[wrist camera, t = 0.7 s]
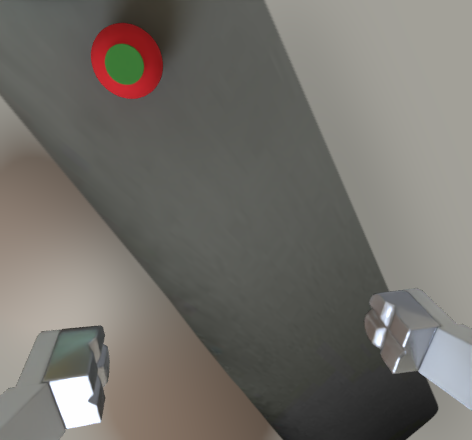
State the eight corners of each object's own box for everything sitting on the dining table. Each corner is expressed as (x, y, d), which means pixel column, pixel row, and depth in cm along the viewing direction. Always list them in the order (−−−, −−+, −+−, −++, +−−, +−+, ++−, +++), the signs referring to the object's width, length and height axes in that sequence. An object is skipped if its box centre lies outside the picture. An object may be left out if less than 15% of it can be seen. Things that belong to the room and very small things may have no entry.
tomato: (113, 9, 24) (102, 3, 19) (173, 49, 26) (175, 51, 21) (87, 72, 25) (72, 78, 21) (146, 105, 27) (143, 117, 23)
